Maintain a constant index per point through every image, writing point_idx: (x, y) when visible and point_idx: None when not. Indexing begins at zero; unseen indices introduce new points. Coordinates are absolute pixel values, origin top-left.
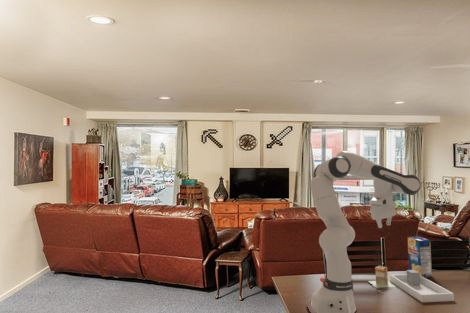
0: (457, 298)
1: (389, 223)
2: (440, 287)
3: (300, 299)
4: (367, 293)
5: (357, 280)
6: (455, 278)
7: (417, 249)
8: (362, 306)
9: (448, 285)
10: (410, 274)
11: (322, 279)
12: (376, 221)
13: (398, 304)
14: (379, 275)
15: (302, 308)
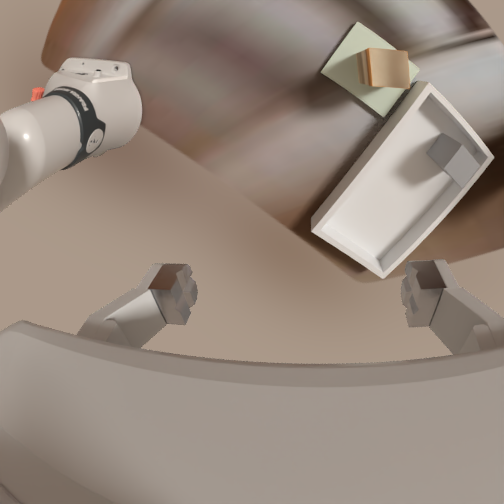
0: (413, 259)
1: (406, 312)
2: (411, 245)
3: (74, 25)
4: (259, 72)
5: None
6: None
7: None
8: (164, 126)
9: (490, 221)
10: (444, 160)
11: (32, 100)
12: (94, 314)
13: (259, 177)
14: (364, 66)
15: (53, 71)
